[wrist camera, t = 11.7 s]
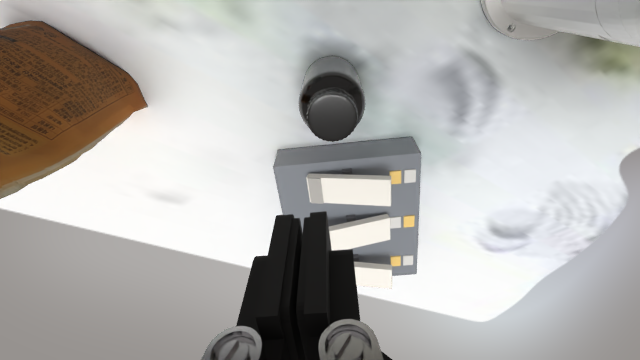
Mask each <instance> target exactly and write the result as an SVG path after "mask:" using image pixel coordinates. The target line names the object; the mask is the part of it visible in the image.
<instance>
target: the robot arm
mask: <svg viewBox="0 0 640 360" xmlns="http://www.w3.org/2000/svg"><path fill="white" fill-rule="evenodd" d="M481 3H482V8H483V11H484V13H485V15H486V17H487V19H488V21H489V22H490V23H491V25H492V26H493V27H494V28H495V29H496V30H498V31H499V32H500V33H502V34H504V35H506V36H508V37H511V38H515V39H519V40H536V39H542V38H545V37H549V36H552V35H554V34H556V33H558V32H560V31H561V32H566V33H571V34H576V35H581V36H586V37H591V38H596V39H601V40H606V41H611V42H616V43H621V44H626V45H631V46H638V47H640V0H481ZM509 25H510V28H509V29H508V30H507V28H508V26H509ZM201 360H392V359H391V358H389V357H388V356H387V355H385V354H384V353H383V352H381V350H380V346H379V343H378V340H377V338H376V336H375V334H374V332H373V330H372V329H371V328H370V327H369V326H368V325H366V324H364V323H363V322H361V321H360V315H359V305H358V296H357V286H356V277H355V267H354V258H353V249H346V250H333V251H332V249H331V241H330V233H329V225H328V217H327V212H326V211H324V212H312V213H310V217H304V225H303V232H302V226H301V221H300V218H294V215H293V214H288V215H277V216H276V219H275V224H274V229H273V233H272V238H271V243H270V247H269V252H268V256H256V257H255V258H254V260H253V264H252V268H251V271H250V275H249V279H248V283H247V287H246V291H245V294H244V298H243V302H242V306H241V310H240V314H239V318H238V322H237V326H235V327H232V328H229V329H226V330H224V331H223V332H221V333H220V334H218V335H217V336H216V337H215V338H214V339H213V340H212V341H211V342H210V344H209V345H208V347H207V349H206V351H205V353H204V355H203V357H202V359H201Z"/></svg>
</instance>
